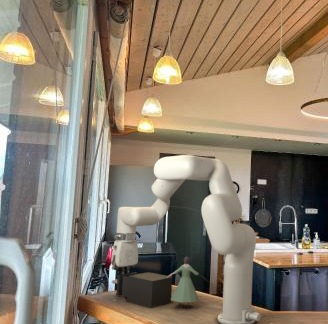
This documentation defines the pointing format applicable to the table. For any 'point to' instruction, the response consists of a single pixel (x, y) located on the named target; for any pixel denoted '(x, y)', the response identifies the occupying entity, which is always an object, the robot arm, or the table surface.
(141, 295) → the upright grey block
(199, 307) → the table surface
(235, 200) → the robot arm
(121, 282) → the drawer
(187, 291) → the character figurine
